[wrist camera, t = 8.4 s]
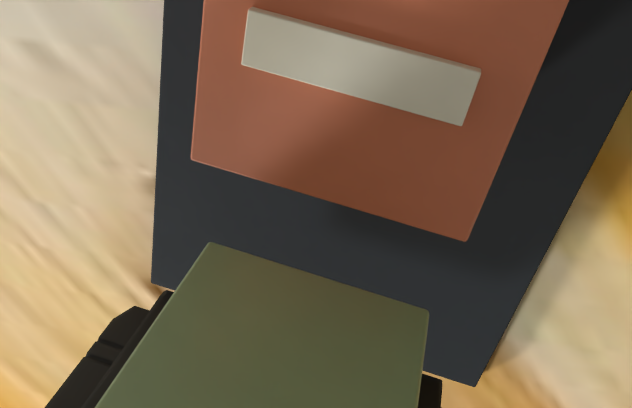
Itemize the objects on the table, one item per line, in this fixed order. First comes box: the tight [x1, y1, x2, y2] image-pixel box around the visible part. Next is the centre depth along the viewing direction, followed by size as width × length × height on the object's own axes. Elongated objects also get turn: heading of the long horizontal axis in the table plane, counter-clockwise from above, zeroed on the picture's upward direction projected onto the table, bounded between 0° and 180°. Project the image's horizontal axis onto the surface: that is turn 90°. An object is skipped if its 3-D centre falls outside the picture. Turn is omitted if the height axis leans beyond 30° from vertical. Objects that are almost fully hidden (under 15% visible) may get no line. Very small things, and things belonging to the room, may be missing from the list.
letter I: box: [191, 0, 569, 242], centre depth 10 cm, size 5×5×5 cm
